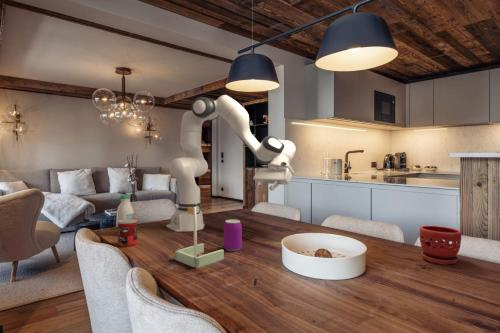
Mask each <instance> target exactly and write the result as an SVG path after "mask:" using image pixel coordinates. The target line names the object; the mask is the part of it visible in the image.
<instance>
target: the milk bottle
mask: <svg viewBox="0 0 500 333" xmlns="http://www.w3.org/2000/svg"><path fill="white" fill-rule="evenodd" d="M124 219H135V212H134V208H133V205H132V204H131V195H130V194H121V195H120V204H119V207H118V209H117V222H118V221H120V220H124Z"/></svg>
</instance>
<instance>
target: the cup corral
mask: <svg viewBox="0 0 500 333" xmlns="http://www.w3.org/2000/svg"><path fill="white" fill-rule="evenodd" d="M188 214H193V215H194V231H193V245H191V246H188V247H184V248H180V249H176V250H174V260H175V261H177V262H180V263H182V264H184V265H187V266H190V267H192V268H194V269H199V268H202V267H205V266H208V265H211V264H214V263H217V262H220V261H222V260H224V259H225V250H224V249H219V250H214V251H212V252H209V253H206V254H203V253H205V244H204V243H198V235H197V234H198V233H197V231H198V230H197V222H196V207H188ZM199 254H202V255H199ZM198 255H199V256H198Z"/></svg>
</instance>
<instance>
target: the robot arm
mask: <svg viewBox="0 0 500 333" xmlns="http://www.w3.org/2000/svg"><path fill="white" fill-rule="evenodd" d="M249 116H250V115H249V113H248V111H247V110H246V109H245V107H243V106H242V105H241V104H240V103H239V102H238V101H237V100H235V99H233V98H232V97H230V96H229V95H227V94H223V95H220V96H219V97H218V98H217V99H216V100H214V99H213V98H210V97H209V98H208V97H204V96H200V97H197V98H195V99H194V100H193V101H192V103H191V110H188V111H186V112H184V114H183V115H182V119H181V126H180V138H179V144H180V147H181V148H182V149H183V151H184V156H182V157H178V158H174V159H173V160H172V161H171V162H170V164H169V166H168V168H169V172H170V174H171V176H173V178H174V179H175V181H176V183H177V185H178V186H177V187H178V191H179V203H178V204H176V207H177V210H176V211H175V212H174V213H173V214H172V215H171V217H170V223H168V224H166V226H165V227H166V228H168V229H170V230H172V231H174V232H177V233H179V232H194V215H193V214H188V207H196V222H197V231H200V230H203V229H204V227H205V223H204V217H203V211H202V202H201V189H200V188H201V187H200V186H199V185H197V183H196V179H195V178H198V177H200V176H201V177H202V176H203V175H205V174H206V173H207V172H208V168H209V164H208V162H207V160H205V158H204V154H203V150H202V133H203V130H202V128H203V123H208V122H211V121H215V120H217V119H218V118H219V117H222V118H223V119H224V120H225V121H226V122H227V123H228V124H229V125H230V126H231V127H232V129H233V130H234V132H235V133H236V135H237V137H238V138H239V139H240V140H241V142H242V143H244V145H245V146H246V147H247V148H248V149H249V150H250V151H251V153H252V154H253V156H254V159H255V160H256V162H258V163H259V164H261V165H266V166H267V167H262V168H259V169H258V170H257V171H256V172H255V174H254V176H253V181H255V183H257V184H258V185H257V187H256V188H257V190H262V189H263V186H262V185H263V184H267V185H268V184H269V185H270V186H269V189H268V190H270V191H274V190H275V189H276V188H277V187H279V186H280V185H285V186H287V185H288V184H289V183H290V182H291V181H292V180H291V179H292V177H293V175H294V173H295V171H294V170H293V167H292V166H291V165H290V164H291V162H293V159H294V157H295V154H296V152H297V149H296V145H295V144H294V142H292V141H290V140H282V139H279V138H277V137H275V136H273V135H266V136H265V137H264V138H263V139H262V141H261V142H259V141H258V140H257V138H256V137H255V136H254V135H253V134H252V132H251V129H250V117H249Z"/></svg>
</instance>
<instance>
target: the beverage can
mask: <svg viewBox="0 0 500 333" xmlns="http://www.w3.org/2000/svg"><path fill="white" fill-rule="evenodd" d="M242 232H243V228H242V223H241V220H239V219H233V218H232V219H226V220H225V221H224V224H223V248H224V249H225V250H226V251H228V252H237V251H240V250H241V249H242V247H243V238H242V236H243V234H242Z"/></svg>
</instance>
